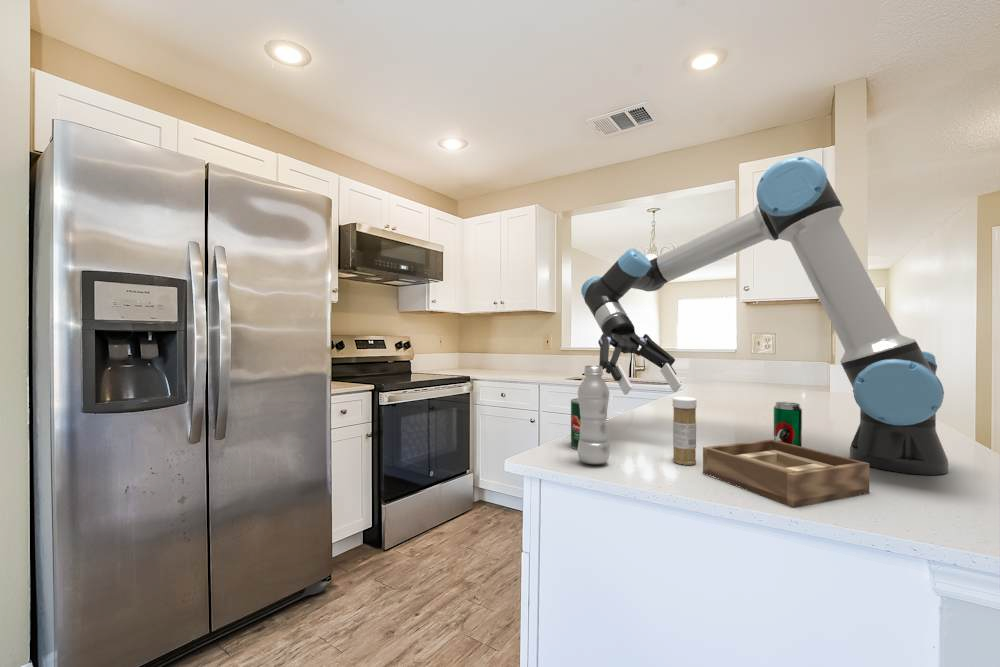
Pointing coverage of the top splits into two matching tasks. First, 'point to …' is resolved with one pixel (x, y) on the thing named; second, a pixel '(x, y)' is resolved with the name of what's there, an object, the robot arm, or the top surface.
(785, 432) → the soda can
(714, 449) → the socket tray
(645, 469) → the top surface
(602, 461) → the plastic bottle
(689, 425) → the sprinkles bottle
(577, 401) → the canned tomato
